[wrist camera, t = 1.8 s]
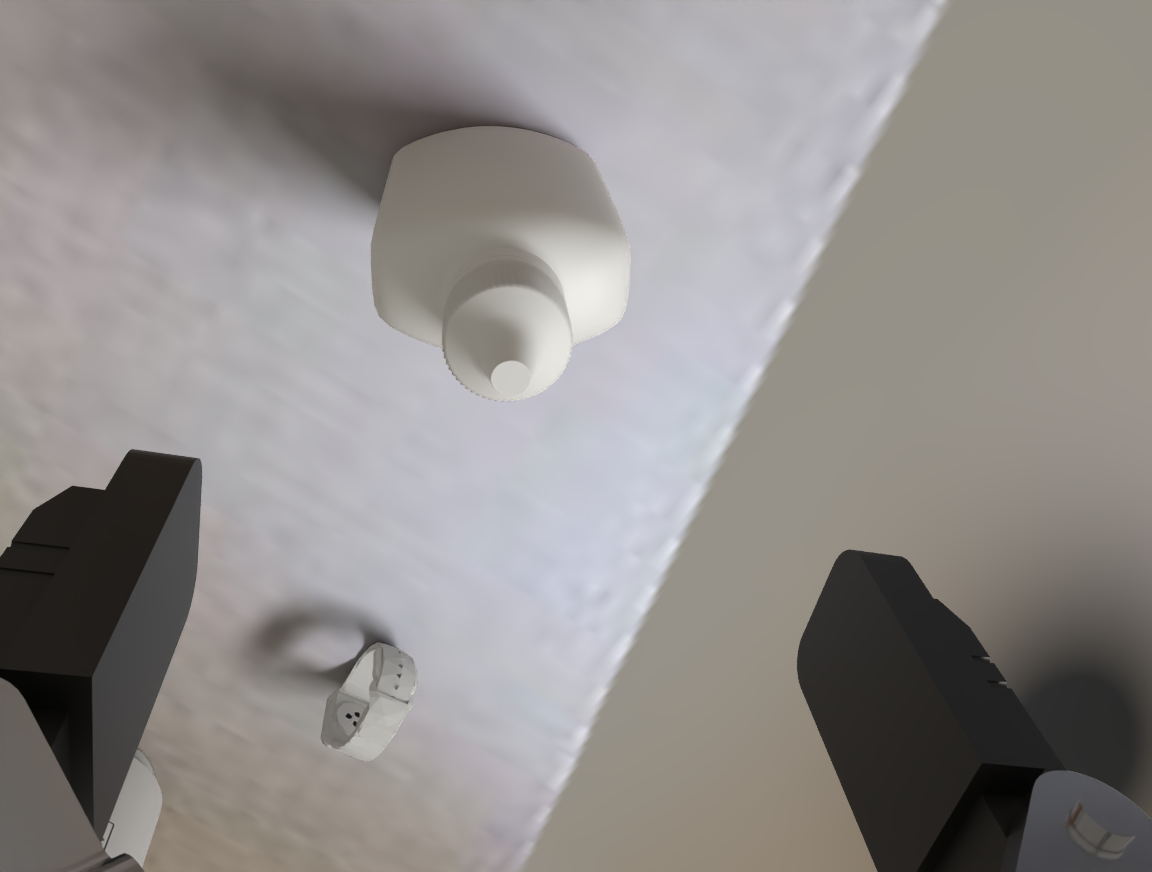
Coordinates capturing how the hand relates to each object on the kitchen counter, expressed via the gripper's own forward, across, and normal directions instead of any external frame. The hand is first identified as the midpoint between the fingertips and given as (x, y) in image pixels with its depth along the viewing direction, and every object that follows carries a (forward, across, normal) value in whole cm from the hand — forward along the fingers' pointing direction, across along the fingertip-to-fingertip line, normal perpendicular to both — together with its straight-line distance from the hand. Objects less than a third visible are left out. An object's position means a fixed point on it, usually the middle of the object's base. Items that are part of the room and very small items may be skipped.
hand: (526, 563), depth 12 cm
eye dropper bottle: (+17, 0, 0) cm, 17 cm away
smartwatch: (+17, +1, +18) cm, 25 cm away
